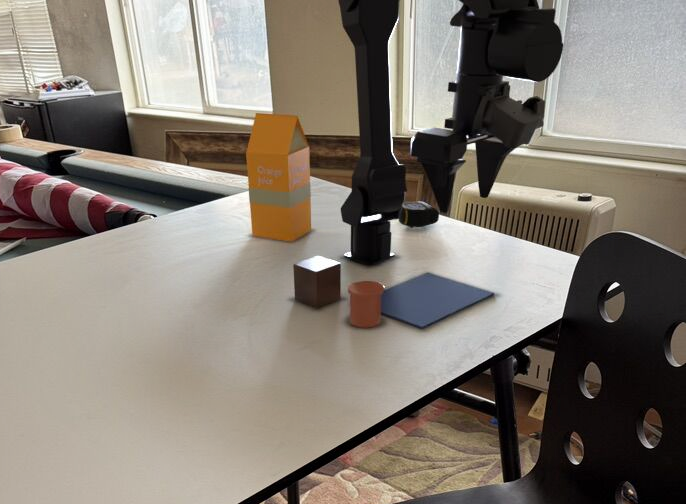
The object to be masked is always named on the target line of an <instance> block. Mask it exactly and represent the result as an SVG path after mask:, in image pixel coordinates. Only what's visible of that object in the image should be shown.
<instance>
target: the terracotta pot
mask: <svg viewBox="0 0 686 504" xmlns="http://www.w3.org/2000/svg"><path fill="white" fill-rule="evenodd" d="M384 290H385V286H384V284H383V283H381V282H378V281H375V280H374V281H373V280H359V281H356V282H353V283H349V285H348V287H347V292H348V294H349V323H350V325H352V326H354V327H357V328H361V329H362V328H364V329H365V328H367V329H368V328H374V327H376V326H379V325H380V324H381V321H382V314H381V301H382V294H383V293H384Z"/></svg>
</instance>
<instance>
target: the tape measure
mask: <svg viewBox="0 0 686 504" xmlns="http://www.w3.org/2000/svg"><path fill="white" fill-rule="evenodd" d="M439 218H440V211H439V210H438V209H437V208H435V207H434V206H432V205H430V204H428V203H426V202H424V201H422V200H420V201H406V202H404V203H403V205H402V209H401V213H400V216H399V219H398V222H399V224H401V225H402V226H406V227H409V228H411V229H413V228H423V227H427V226H430V225H435V224H436V223H437V222H438V221H439Z"/></svg>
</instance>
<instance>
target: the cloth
mask: <svg viewBox="0 0 686 504" xmlns="http://www.w3.org/2000/svg"><path fill="white" fill-rule="evenodd" d="M492 296H493V297H494V296H495V292H492V291H489V290H485V289H483V288H479V287H476V286H472V285H469V284H466V283H463V282H459V281H456V280H453V279H451V278H446V277H443V276H440V275H437V274H434V273H431V272H425V273H423V274H421V275H419V276H416V277H413V278H411V279H409V280H406V281H404V282H402V283H401V282H400V283H398V284H396V285H394V286H392V287H390V288H387V289H384V293H383V294H382V301H381V315H383V316H386V317H388V318H391V319H394V320H397V321H399V322H401V323H405V324H407V325H410V326H413V327H416V328H417V329H421V330H423V329H425V328H427V327H429V326H432V325H433V324H435V323H437V322H439V321H442V320H444V319H446V318H448V317H450V316H453V315H455V314H456V313H459V312H461V311H464V310H465V309H467V308H469V307H472V306H475V304H478V303H481V302H482V301H484V300H486V299H489V298H491V297H492Z"/></svg>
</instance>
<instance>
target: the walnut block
mask: <svg viewBox="0 0 686 504" xmlns="http://www.w3.org/2000/svg"><path fill="white" fill-rule="evenodd" d="M292 267H293V285H294V287H293V289H294V300H295V301H297V302H299V303H303V304H305V305H308V306H310V307H313V308H314V309H319V308H322V307H324V306H326V305H329V304H332V303H334V302H337V301H339V300H341V298H342V297H341V295H342V294H341V293H342V291H341V290H342V289H341V288H342V287H341V283H342V282H341V281H342V280H341V279H342V277H341V276H342V270H341V269H342V268H341V267H342V263H341V262H338V261H336V260H332V259H330V258H326V257H323V256H320V255H316V256H312V257H310V258H306V259H304V260H300V261H297V262H295V263H293V266H292Z"/></svg>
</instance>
